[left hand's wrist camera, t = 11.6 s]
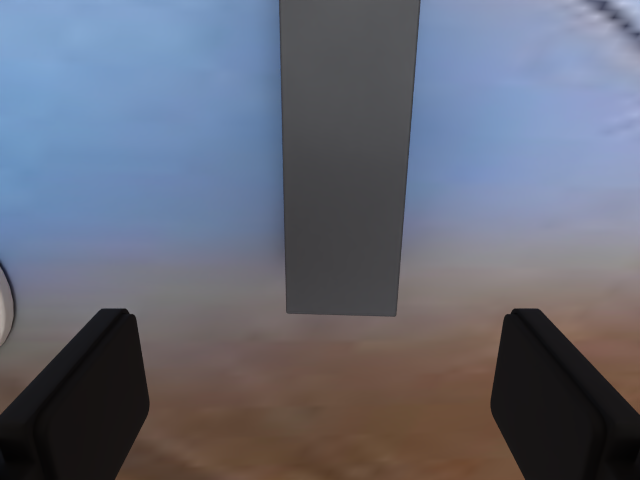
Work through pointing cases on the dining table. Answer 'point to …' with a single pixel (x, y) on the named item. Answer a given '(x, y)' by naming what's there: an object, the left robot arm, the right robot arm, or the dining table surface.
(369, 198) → the beam
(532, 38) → the dining table surface
